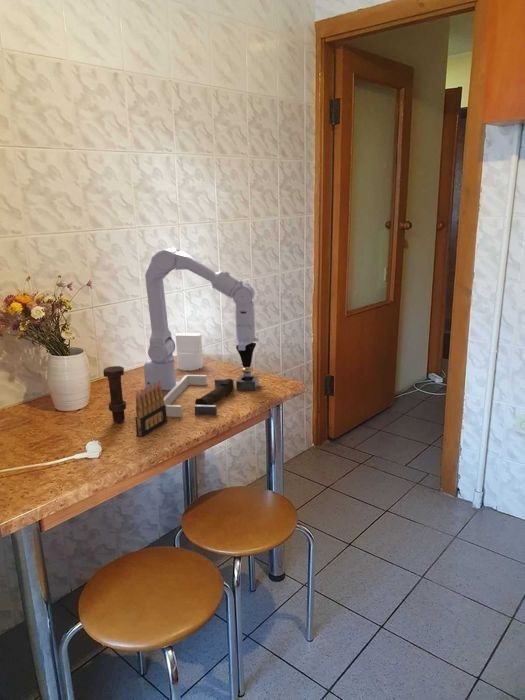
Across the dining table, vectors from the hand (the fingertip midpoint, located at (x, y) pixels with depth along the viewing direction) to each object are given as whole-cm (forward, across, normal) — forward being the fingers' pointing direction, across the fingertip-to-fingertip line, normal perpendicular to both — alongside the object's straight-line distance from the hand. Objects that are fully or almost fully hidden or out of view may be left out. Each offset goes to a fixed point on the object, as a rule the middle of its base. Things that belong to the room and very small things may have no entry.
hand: (247, 366), depth 168 cm
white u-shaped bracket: (+7, -12, +16) cm, 21 cm away
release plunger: (+4, 0, 0) cm, 4 cm away
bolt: (+7, -30, +30) cm, 43 cm away
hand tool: (+7, -12, +8) cm, 16 cm away
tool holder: (+7, -10, +4) cm, 13 cm away
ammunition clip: (+7, -34, +19) cm, 40 cm away
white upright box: (+7, +21, +25) cm, 33 cm away
